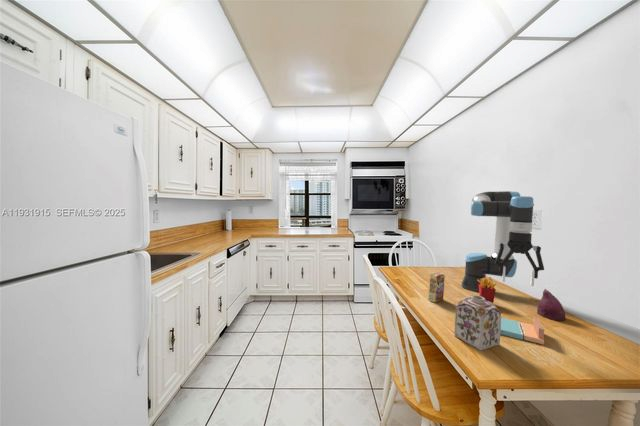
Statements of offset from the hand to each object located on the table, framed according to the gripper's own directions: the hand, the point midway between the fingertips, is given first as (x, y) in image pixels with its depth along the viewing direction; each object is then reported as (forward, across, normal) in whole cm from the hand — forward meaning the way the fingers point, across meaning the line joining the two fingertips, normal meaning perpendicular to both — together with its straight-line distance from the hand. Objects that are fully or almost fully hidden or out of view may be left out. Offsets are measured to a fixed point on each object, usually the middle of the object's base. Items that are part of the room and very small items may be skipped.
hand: (517, 283), depth 105 cm
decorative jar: (+22, -14, -19) cm, 32 cm away
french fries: (+22, -11, +29) cm, 38 cm away
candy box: (+22, -34, +17) cm, 44 cm away
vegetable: (+22, +17, +30) cm, 41 cm away
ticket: (+22, -4, 0) cm, 22 cm away
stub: (+22, +5, 0) cm, 22 cm away
